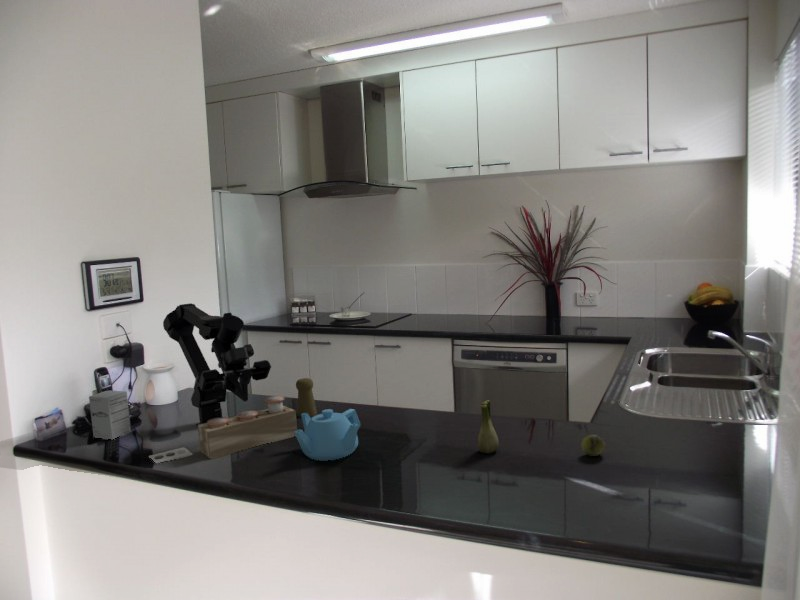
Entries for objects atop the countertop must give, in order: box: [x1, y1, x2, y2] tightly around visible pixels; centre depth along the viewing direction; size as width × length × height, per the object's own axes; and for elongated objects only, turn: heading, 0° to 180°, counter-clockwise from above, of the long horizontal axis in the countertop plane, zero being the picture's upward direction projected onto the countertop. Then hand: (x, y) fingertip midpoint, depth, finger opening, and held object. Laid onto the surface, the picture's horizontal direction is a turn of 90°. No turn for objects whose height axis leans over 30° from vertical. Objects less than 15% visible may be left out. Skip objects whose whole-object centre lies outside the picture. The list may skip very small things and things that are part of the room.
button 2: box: [264, 395, 285, 415], centre depth 169 cm, size 5×5×5 cm
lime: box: [580, 434, 606, 457], centre depth 140 cm, size 4×5×5 cm
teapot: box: [294, 408, 362, 462], centre depth 153 cm, size 15×15×11 cm
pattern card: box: [148, 446, 193, 464], centre depth 159 cm, size 7×9×1 cm
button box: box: [197, 404, 298, 460], centre depth 165 cm, size 8×24×7 cm, turn 126°
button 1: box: [207, 416, 229, 429], centre depth 160 cm, size 5×5×5 cm
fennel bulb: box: [477, 400, 500, 454], centre depth 147 cm, size 6×5×12 cm
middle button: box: [236, 410, 258, 421], centre depth 165 cm, size 5×5×5 cm
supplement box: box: [88, 390, 132, 441], centre depth 180 cm, size 7×7×13 cm
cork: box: [295, 377, 318, 418], centre depth 189 cm, size 6×6×11 cm
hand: (246, 400), depth 164 cm, fingers closed
